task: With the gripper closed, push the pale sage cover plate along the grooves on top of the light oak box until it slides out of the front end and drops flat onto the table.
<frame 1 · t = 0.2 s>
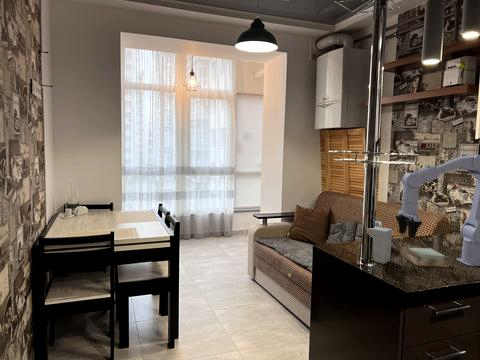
hand: (406, 235, 147), 10 cm above the worktop, tool pointing down, fingers open, 7 cm apart
light bulb box: (372, 245, 168), on the worktop
small box: (377, 260, 145), on the worktop
wooden box: (423, 260, 147), on the worktop
cover plate: (425, 255, 146), point 2 cm above the worktop, touching wooden box
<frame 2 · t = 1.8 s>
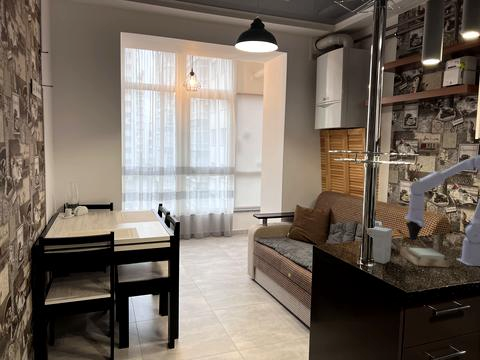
hand: (413, 239, 156), 6 cm above the worktop, tool pointing down, fingers closed
nothing on the worktop moved.
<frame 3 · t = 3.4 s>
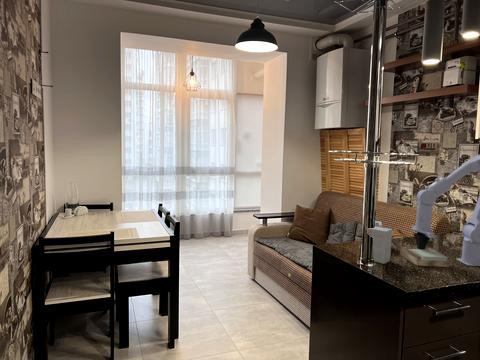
hand: (420, 250, 150), 3 cm above the worktop, tool pointing down, fingers closed
cover plate: (428, 256, 144), point 3 cm above the worktop, touching gripper, wooden box
everything else where it was.
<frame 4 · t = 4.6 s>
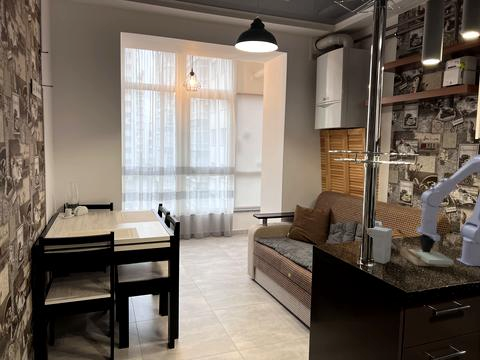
hand: (425, 253, 146), 3 cm above the worktop, tool pointing down, fingers closed
cover plate: (433, 259, 140), point 3 cm above the worktop, touching gripper
everything else where it was.
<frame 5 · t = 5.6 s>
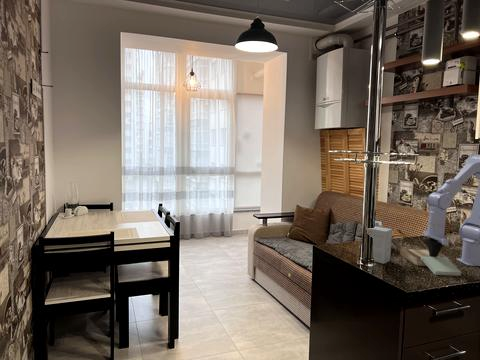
hand: (433, 258, 140), 3 cm above the worktop, tool pointing down, fingers closed
cover plate: (440, 267, 135), point 1 cm above the worktop, tilted 14°
everything else where it was.
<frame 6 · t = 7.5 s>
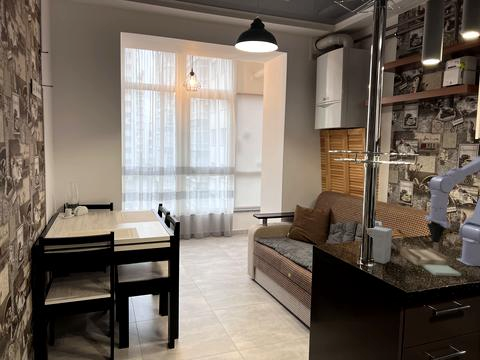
hand: (435, 242, 140), 9 cm above the worktop, tool pointing down, fingers closed
cover plate: (440, 272, 135), on the worktop
everything else where it was.
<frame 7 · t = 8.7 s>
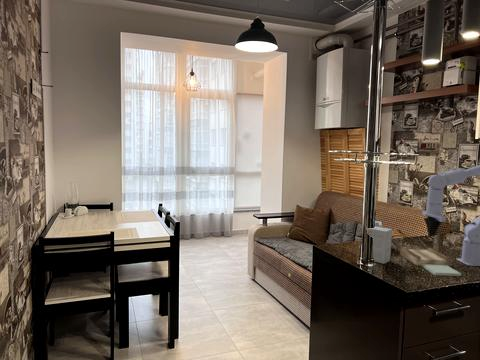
hand: (431, 235, 151), 9 cm above the worktop, tool pointing down, fingers closed
nothing on the worktop moved.
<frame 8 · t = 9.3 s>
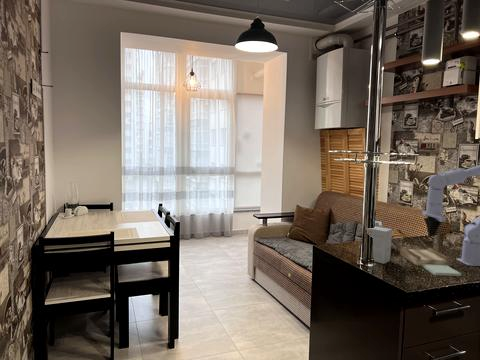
hand: (431, 235, 151), 9 cm above the worktop, tool pointing down, fingers closed
nothing on the worktop moved.
at the end: cover plate inside the target area (4.8 cm from its centre), on the worktop; cover plate tilted 0°; cover plate touching worktop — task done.
